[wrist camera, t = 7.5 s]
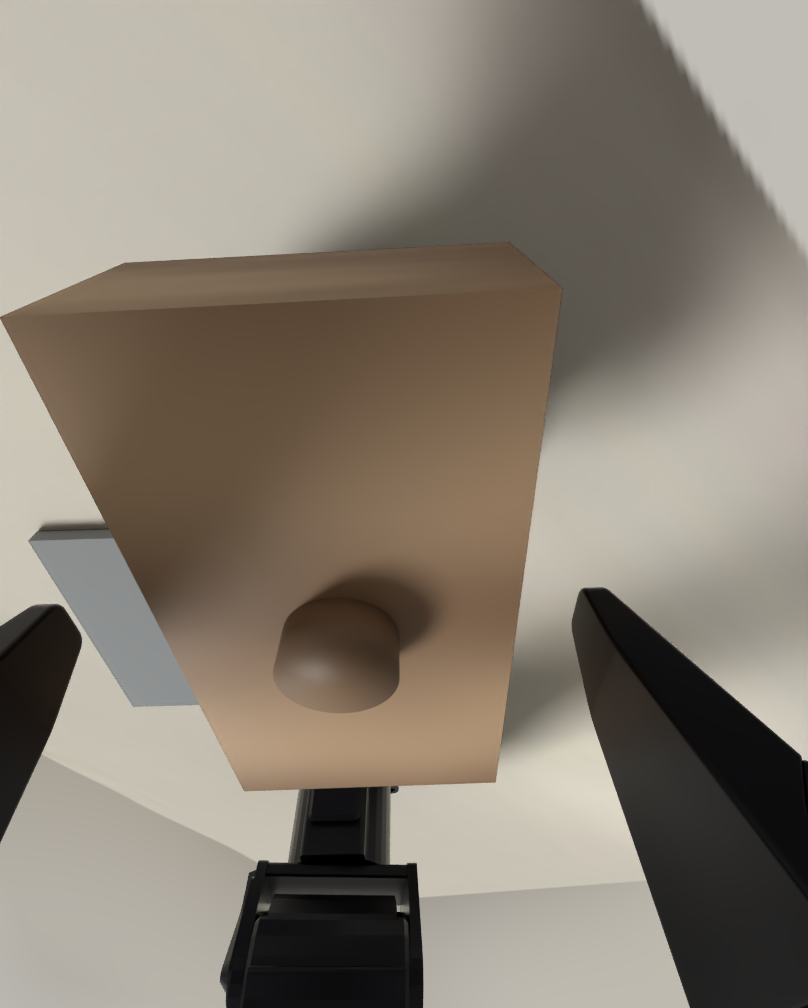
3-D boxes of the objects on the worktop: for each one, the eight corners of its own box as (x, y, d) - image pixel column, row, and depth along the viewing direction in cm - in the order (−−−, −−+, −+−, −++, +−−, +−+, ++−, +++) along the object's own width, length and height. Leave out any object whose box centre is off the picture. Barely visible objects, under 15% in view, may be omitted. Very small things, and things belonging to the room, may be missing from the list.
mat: (351, 690, 27) (350, 700, 27) (137, 696, 28) (133, 706, 27) (323, 522, 20) (321, 531, 20) (36, 531, 21) (28, 541, 20)
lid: (478, 672, 14) (501, 819, 11) (270, 680, 14) (235, 828, 11) (509, 241, 8) (586, 309, 5) (124, 262, 8) (-57, 342, 5)
